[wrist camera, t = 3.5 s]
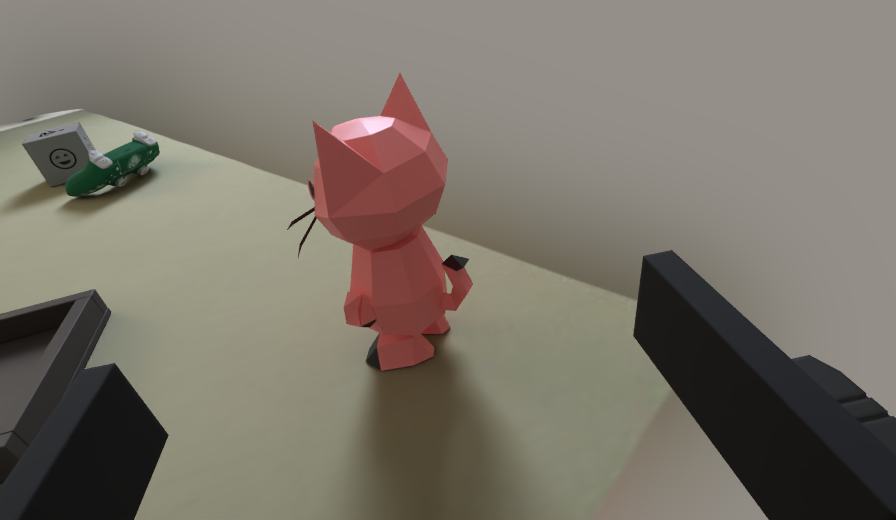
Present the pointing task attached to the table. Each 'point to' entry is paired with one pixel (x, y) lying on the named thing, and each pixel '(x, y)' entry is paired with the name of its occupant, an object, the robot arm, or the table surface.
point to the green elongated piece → (113, 166)
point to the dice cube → (59, 152)
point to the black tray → (42, 364)
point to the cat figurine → (388, 226)
